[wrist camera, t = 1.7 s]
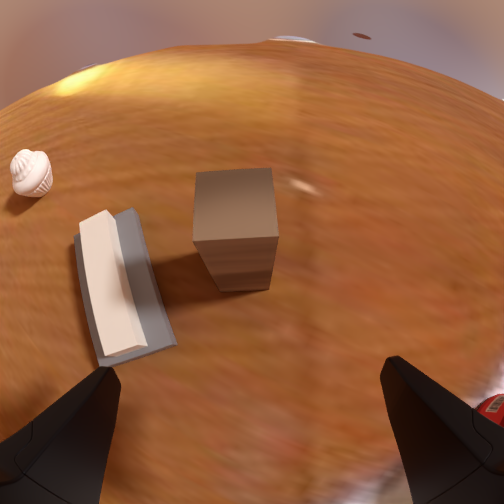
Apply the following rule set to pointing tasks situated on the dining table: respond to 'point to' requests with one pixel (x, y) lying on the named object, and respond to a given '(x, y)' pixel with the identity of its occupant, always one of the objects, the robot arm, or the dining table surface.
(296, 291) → the dining table surface
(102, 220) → the ridge block
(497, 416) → the canned food
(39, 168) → the muffin
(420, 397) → the robot arm
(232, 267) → the tall brown block
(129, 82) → the dining table surface
